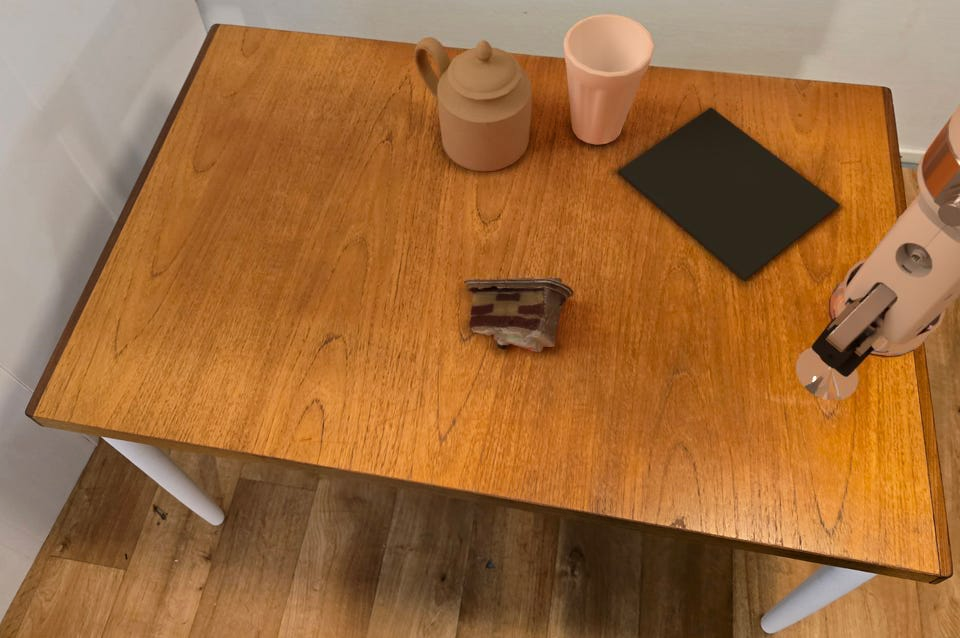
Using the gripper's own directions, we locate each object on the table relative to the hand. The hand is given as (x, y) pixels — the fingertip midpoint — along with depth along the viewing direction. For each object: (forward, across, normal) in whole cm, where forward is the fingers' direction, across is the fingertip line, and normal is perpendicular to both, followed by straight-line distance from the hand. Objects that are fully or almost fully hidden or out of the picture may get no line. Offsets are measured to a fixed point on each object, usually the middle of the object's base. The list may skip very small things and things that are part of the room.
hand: (863, 330), depth 55 cm
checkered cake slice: (+21, -12, +26) cm, 35 cm away
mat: (+21, +19, +24) cm, 37 cm away
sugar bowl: (+21, +1, +50) cm, 54 cm away
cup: (+21, +14, +41) cm, 48 cm away
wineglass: (+7, 0, 0) cm, 7 cm away
